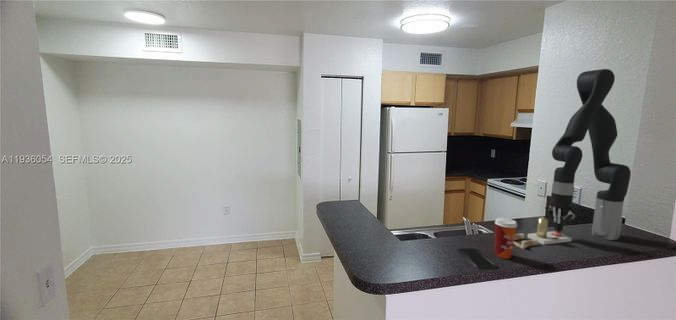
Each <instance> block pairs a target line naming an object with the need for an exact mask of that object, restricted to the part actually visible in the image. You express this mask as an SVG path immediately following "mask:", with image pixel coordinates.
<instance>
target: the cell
mask: <svg viewBox="0 0 676 320" xmlns="http://www.w3.org/2000/svg"><path fill="white" fill-rule="evenodd" d="M549 219H550V218H547V217H544V216H543V217H541V216H540V217H538V219H537V229H536V233H537V235H536V236H537V237H539V238H546V237H547V232H548V227H549Z"/></svg>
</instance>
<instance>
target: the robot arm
mask: <svg viewBox="0 0 676 320" xmlns="http://www.w3.org/2000/svg"><path fill="white" fill-rule="evenodd" d="M615 77H616V76H615V73H614V72H613V71H612V70H611V69H608V68H602V69H593V70H587V71H584V72H581V73H580V74H579V75H578V76H577V79H576V89H577V92H578V95H579V98H580V101H581V104H582V106H580V107H579V108H578V110H577V111H576V112H575V113H573V115H572V116H571V118H570V119H569V121H568V123H567V125H566V128H565V131H564V133H563V134H562V136H560V138H559V139H558V141H557V142H556V143H555V145H554V146H553V148H552V151H551V156H552V159H554V160H555V161H558V162H564V165H562V166H559V167H556V168H555V170H554V172H553V173H554V175H553V182H552V187H551V194H550V195H551V196H550V202H551V203H550V205H548V206H545V207H544V209H545V211H546V213H547V215H548V217H549V219H550V220H551V221H553V222H554V226H553V230H554V231H557V232H563V230H564V224H569V223H570V222H572V221H573V220H574V219H576V218H577V214H576V213H573V212H572V205H573V201H574V200H573V199H574V193H575V192H574V191H575V177H576V173H577V170H578V168H579V167H580V164H581V162H582V160H583V151H582V149H581V148H580V147H579V146H576V145H574V144H575V143H579V142H582V141H584V139H585V137H586V136H587V132H588V136H589V139H590V140H589V141H590V143H591V144H590V145H591V149H592V158H593V172H594V175H595V179H596V180H597V181H598V182H599V183H604V184H609V188H608V189H605V190H604V189H603V190H598V191H597V193H596V198H595V206H594V212H593V220H592V228H591V235H592V236H595V237H598V238H601V239H603V240H608V241H609V240H610V241H617V240H619V239H620V236H621V230H622V223H623V216H622V215H623V210H624V209H623V208H624V202H625V198H626V196H627V193H628V190H629V185H630V181H631V174H632V173H631V169H630V167H629V166H628V165H625V164H620V163H613V162H611V158H610V150H611V148H612V146H613V145H614V144H615V142H616V140H617V138H618V128H617V122H616V120H615V118H614V116H613V115H612V114H611V112H610V111H608V109H607V108H606V107H605V106H604V105H603V103H604V101H605V100H606V98H607V96H608V94H609V93H610V92H611V91H612V88H613V86H614V84H615V79H616V78H615Z"/></svg>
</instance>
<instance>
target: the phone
mask: <svg viewBox="0 0 676 320" xmlns="http://www.w3.org/2000/svg"><path fill="white" fill-rule="evenodd" d="M458 252H459V253H460V255H461V256H463V258H465V259H466V260H467V261H468V262H469V263H470V264H471V265H472V266H473V267H474V268H476V269H479V270H481V269H485V270H486V269H487V270H488V269H497V267H498V264H496V263H495V262H494V261H492V260H491V259H490V258H489V257H488V256H486V255H485V254H484V253H482V252H481V251H480V250H479V249H478V248H473V247H471V248H458Z"/></svg>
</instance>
